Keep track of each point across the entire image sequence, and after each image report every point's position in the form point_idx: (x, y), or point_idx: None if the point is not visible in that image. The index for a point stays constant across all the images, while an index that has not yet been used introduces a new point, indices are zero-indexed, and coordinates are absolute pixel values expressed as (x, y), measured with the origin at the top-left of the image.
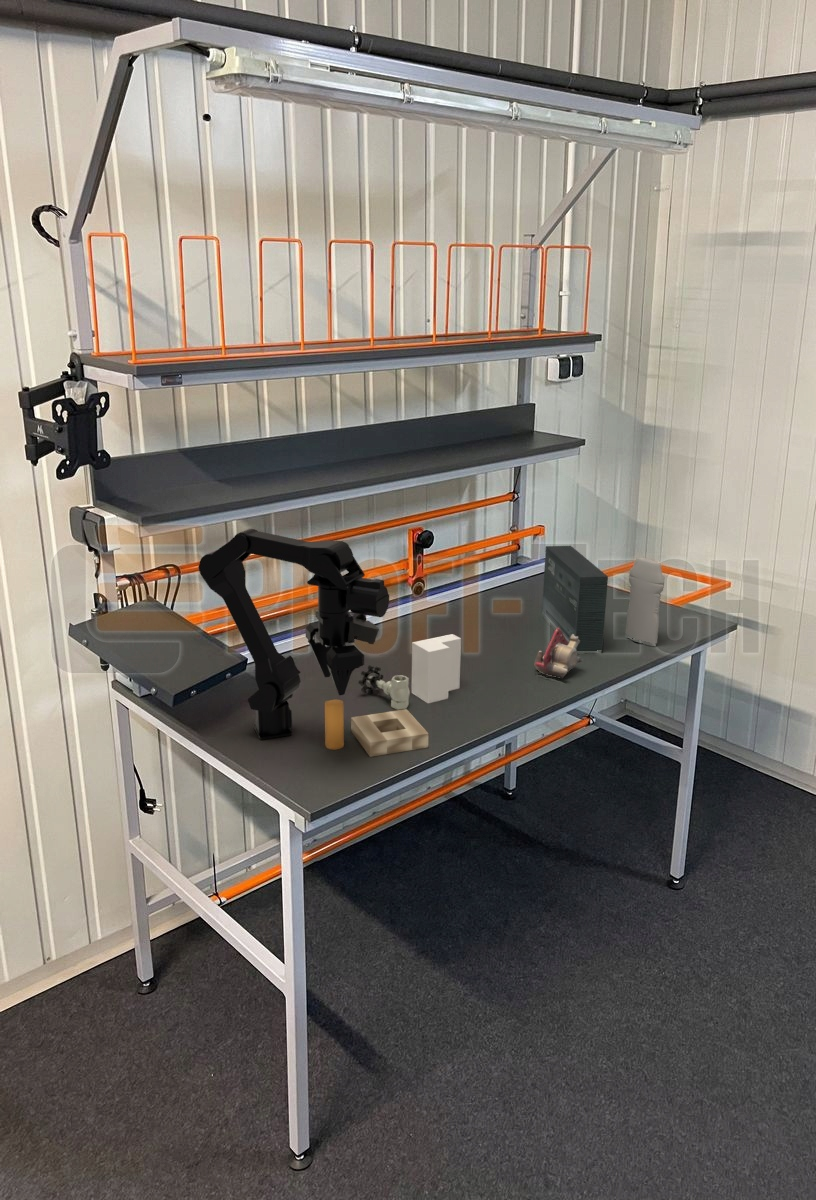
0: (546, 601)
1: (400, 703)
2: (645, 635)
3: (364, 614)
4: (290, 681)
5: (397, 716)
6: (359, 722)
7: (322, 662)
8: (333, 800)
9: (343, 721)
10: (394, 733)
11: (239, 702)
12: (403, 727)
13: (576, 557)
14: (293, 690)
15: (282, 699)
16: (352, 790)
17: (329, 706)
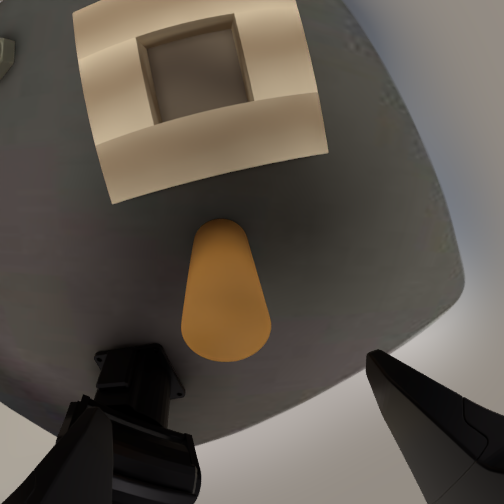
0: None
1: (3, 52)
2: None
3: None
4: (142, 475)
5: (122, 35)
6: (155, 174)
7: (100, 500)
8: (457, 257)
9: (230, 251)
10: (268, 56)
11: (37, 401)
12: (207, 19)
13: None
14: (130, 437)
15: (187, 450)
16: (443, 219)
17: (259, 346)
